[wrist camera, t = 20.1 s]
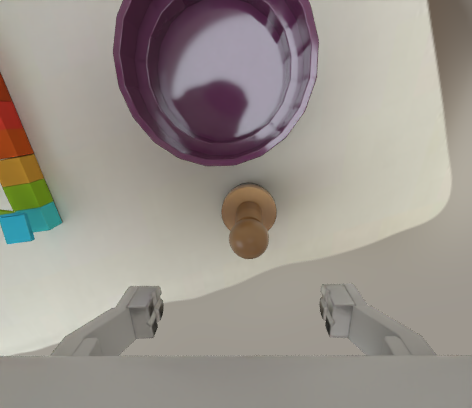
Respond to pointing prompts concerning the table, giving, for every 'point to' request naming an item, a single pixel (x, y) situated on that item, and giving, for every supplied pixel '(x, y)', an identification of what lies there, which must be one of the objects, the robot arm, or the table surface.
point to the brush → (249, 219)
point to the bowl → (216, 73)
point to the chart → (21, 180)
